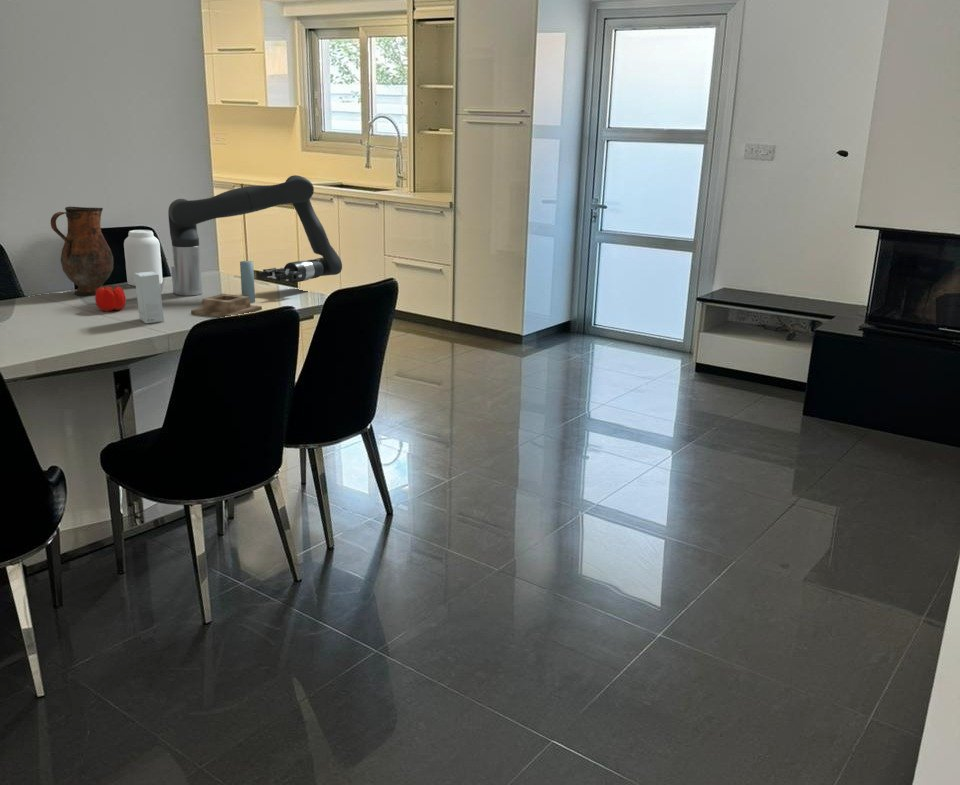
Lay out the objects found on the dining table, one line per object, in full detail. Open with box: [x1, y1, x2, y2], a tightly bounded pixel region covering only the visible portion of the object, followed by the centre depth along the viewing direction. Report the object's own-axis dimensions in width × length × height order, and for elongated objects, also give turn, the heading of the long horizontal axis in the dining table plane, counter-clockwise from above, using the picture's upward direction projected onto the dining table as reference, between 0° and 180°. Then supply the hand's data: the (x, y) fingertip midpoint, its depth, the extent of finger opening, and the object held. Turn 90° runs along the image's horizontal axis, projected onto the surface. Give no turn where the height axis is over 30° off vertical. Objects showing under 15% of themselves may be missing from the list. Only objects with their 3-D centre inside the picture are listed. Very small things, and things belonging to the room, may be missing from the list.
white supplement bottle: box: [123, 229, 164, 287], centre depth 320 cm, size 12×12×20 cm
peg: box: [239, 260, 256, 304], centre depth 295 cm, size 4×4×14 cm
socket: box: [190, 293, 263, 318], centre depth 282 cm, size 16×16×4 cm
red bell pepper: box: [94, 286, 127, 312], centre depth 278 cm, size 9×9×8 cm
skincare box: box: [134, 272, 165, 324], centre depth 264 cm, size 8×6×15 cm
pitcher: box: [50, 206, 115, 297], centre depth 297 cm, size 17×21×30 cm
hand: (267, 277), depth 303 cm, fingers open, 8 cm apart
